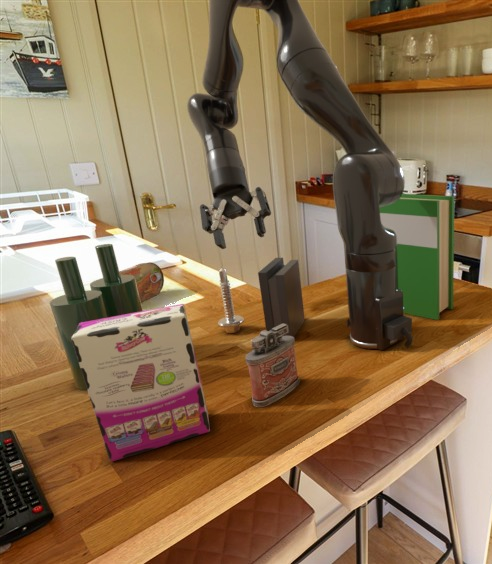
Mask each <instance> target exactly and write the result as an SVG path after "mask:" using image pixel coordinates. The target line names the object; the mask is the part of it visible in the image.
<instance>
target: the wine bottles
mask: <svg viewBox="0 0 492 564" xmlns="http://www.w3.org/2000/svg"><path fill="white" fill-rule="evenodd" d="M94 248H95V253H96V256H97V260H98V263H99V267H100V271H101V275H102V278H99V279H95V280H93V281H92V282H90V284H89V287H90V289H89V290H85V289H86V288H85V285H84V282H83V279H82V275H81V271H80V268H79V265H78V261H77V258H76V256H64V257H60V258H59V257H58V258H56V259H55V260H54V261H55V265H56V269H57V272H58V276H59V278H60V281H61V284H62V289H63V292H64V294H63V295H59V296H57V297H55V298H53V299H51V300H50V302H49V305H50V309H51V312H52V315H53V318H54V322H55V325H54V326H53V327H54V330H55V331H54V332H55V334H56V337H57V340H58V343H59V347H60V350H61V351H64V353H65V355H66V356H65V357H66V359H67V360H66V361H67V364H68V365H69V369H70V372H71V376H72V379H73V382H74V385H75V388H77V390H81V391H88V390H87V387H86V384H85V381H84V377H83V374H82V371H81V368H80V365H79V362H78V360H77V356H76V353H75V350H74V347H73V344H72V340H71V338H72V336H73V334H74V333H75V331H76V330H77V327H78V325H79V323H82V322H87V321H93V320H98V319H103V318H109V317H114V316H119V315H125V314H130V313H135V312H141V311H144V308H143V305H142V302H141V300H140V296H139V292H138V288H137V284H136V280H135V277H134V276H132V275H120V272H119V271H120V269H119V265H118V261H117V256H116V253H115V249H114V245H113V244H112V243H105V244H98V245H95V246H94Z"/></svg>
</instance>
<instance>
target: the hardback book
mask: <svg viewBox="0 0 492 564" xmlns="http://www.w3.org/2000/svg"><path fill="white" fill-rule="evenodd" d="M379 209H380V218H381V223H382V225H383V226H384V227H386V228H390V229H392V230H394V231H395V233H396V235H397V257H398V289H399V290H402V291H403V307H404V309H403V311H404V314H407V315H412V316H417V317H420V318H426V319H431V320H434V321H439V320H440V313H442V312H443V311H444V310H445V309H446V310H453V309H454V268H455V267H454V265H455V263H454V262H455V261H454V260H455V258H454V257H455V196H453V195H434V194H433V195H432V194H414V193H413V194H412V193H403V194H402V196H401V197H400V199H399V200H398V201H396V202H395V203H393V204H390V205H387V206H383V207H379Z"/></svg>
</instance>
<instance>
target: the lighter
mask: <svg viewBox="0 0 492 564" xmlns="http://www.w3.org/2000/svg"><path fill="white" fill-rule="evenodd" d="M288 332H289V331H288V325H286V324H281V325H279V326H277V327H274V328H272V330H270V331H266V329H263V330H261V331H259V334H258V336H255V337H254V338H252V339H250V343H251V347H252V350H251V351H249V352H248V353H247V354H245V356H244V359H245V362H246V364H247V368H248V374H249V380H250V387H251V392H252V397H251V401H252V405H253V406H254V407H257V408H264V407H267V406H269V405H271V404H273V403H275V402H278V401H279V400H280V399H282V398H284V397H285V396H286V395H288V394H289V393H291V392H292V391H293V390H295V389H296V387H298V386H299V385H300V382H301V381H300V376H299V375H298V367H297V360H296V350H295V344H296V341H295V339H296V338H295V336H294V337H292V336H282V335H284V334H286V333H288Z"/></svg>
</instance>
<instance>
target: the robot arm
mask: <svg viewBox="0 0 492 564" xmlns="http://www.w3.org/2000/svg"><path fill="white" fill-rule="evenodd" d="M237 8H245V9H246V8H248V9H256V10H262V11H264V12H265V13H266V14H267V15H268V16H269V18H270V20H271V21H272V23H273V25H274V26H275V28H276V30H277V35H278V37H277V45H276V54H275V55H276V56H275V63H276V64H275V65H276V69H277V73H278V75H279V77H280V79H281V81H282V84H283V85H284V87H285V88H286V90H287V92H288V93H289V95H290V97H291V98H292V100H293V102H294V103H295V105H296V106H297V108H299V110H300V111H301V112H302V113H303V114H304V115H305V116H306V117H307V118H308V119H309V120H310V121H312V122H313V123H314V124H316V125H317V126H318V127H319V128H320V129H322V130H323V131H324V132H326V133H327V134H328V135H329V136H330V137H331V138H333V140H335V141H336V142H337V144H339V146H340V147H341V149H342V150H343V151H344V153H345V154H343V155H342V156H341V157H340V158H339V159H338V160H337V161H336V163H335V165H334V169H333V173H332V191H333V192H332V193H333V201H334V207H335V208H334V209H335V215H336V224H337V229H338V233H339V235H340V238H341V240H342V242H343V251H344V264H345V265H344V266H345V280H346V282H345V283H346V294H347V295H346V296H347V306H348V307H347V309H348V318H347V319H346V327H347V329H348V328H349V340H350V342H351V344H353V346H356V347H358V348H362V349H370V350H379V351H384V350H386V349H388V348H390V347H391V346H394V345H395V344H397V343H399V342H400V341H402V340H404V339H405V337H406V341H405V343H404V346H405V347H406V348H410V346H411V345H412V343H413V335H412V334H411V333H412V332H413V318H412V317H409V316H406V315H405V313H404V311H403V309H404V307H403V291H402V290H399V289H398V257H397V235H396V233H395V231H394V230H392V229H390V228H386V227H384V226H383V225H382V223H381V218H380V209H379V207H383V206H387V205H390V204H393V203H395V202H396V201H398V200H399V199H400V197H401V196H402V194H404V190H405V183H406V182H405V181H406V180H405V174H404V171H403V168H402V166H401V164H400V162H399V160H398V158H397V157H396V155H395V154H394V153H393V151H392V150H391V149H390V147H389V146H388V144H386V142H385V141H384V140H383V138H382V137H381V135H380V134H379V133H378V131H377V130H376V129H375V128H374V126H373V125H372V123H371V122H370V120H369V119H368V117H367V116H366V115H365V113H364V111H363V109H362V107H361V106H360V104H359V102H358V101H357V99H356V97H355V96H354V95H353V93H352V91H351V90H350V88H349V86H348V85H347V83H346V82H345V79H344V78H343V75H342V74H341V72H340V70H339V68H338V67H337V65H336V63H335V62H334V60H333V59H332V57H331V55H330V54H329V52H328V50H327V49H326V47H325V46H324V44H323V43H322V41H321V40H320V37H319V36H318V35H317V33H316V31H315V29H314V27H313V26H312V23H311V21H310V20H309V18H308V16H307V14H306V12H305V11H304V9H303V7H302V5H301V3H300V1H299V0H208V45H207V52H206V58H205V62H204V67H203V74H202V78H201V80H202V81H201V82H202V87H203V89H204V91H205V92H206V93H202V92H196V93H193V94H192V95H190V96H189V98H188V99H187V106H186V107H187V113H188V116H189V119H190V121H191V123H192V125H193V127H194V129H195V130H196V132H197V133H198V135H199V137H200V139H201V142H202V145H203V148H204V153H205V157H206V169H207V174H208V179H209V184H210V189H211V194H212V197H213V202H212V204H208V205H207V204H203V203H201V204H200V206H199V212H200V220H201V228H202V230H203V231H205V232H207V233H208V234H209V235H211V234H213V239H214V244H215V245H216V246H217V247H218V248H220V249H221V250H225V249H227V244H226V240H225V235H224V232H223V231H224V229H225V227H226V226H227V225H228V224H229V221H230V220H231V221H232V220H235V219H237V218H239V217H240V218H241V217H245V216H246V214H249V215H251V216H252V217H253V222H254V226H255V230H256V234H257V236H258V237H260V238H264V237H265V234H266V232H267V230H266V225H265V218H266V217H270V216H271V215H272V211H271V208H270V204H269V201H268V198H267V195H266V192H265V191H264V190H263V189H262V188H261V187H260V186H257V187H255V190H253V191H250V188H249V184H248V178H247V174H246V168H245V166H244V162H243V160H242V157H241V153H240V150H239V145H238V140H237V138H236V135H235V133H234V132H233V131H232V130H231V129H234V128H235V127H236V125H237V124H238V121H239V108H238V90H239V86H240V83H241V79H242V75H243V71H244V55H243V52H242V49H241V45H240V42H239V40H238V39H237V36H236V33H235V30H234V25H233V24H234V16H235V13H236V10H237ZM254 199H255V200H256V201H258V203H259V207H260V209H259V210H257V209H255V208H254V207H252V206H251V205H252V203H253V200H254ZM214 211H216V213H215V215H214ZM213 216H214V217H213ZM213 218H214V220H213Z"/></svg>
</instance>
